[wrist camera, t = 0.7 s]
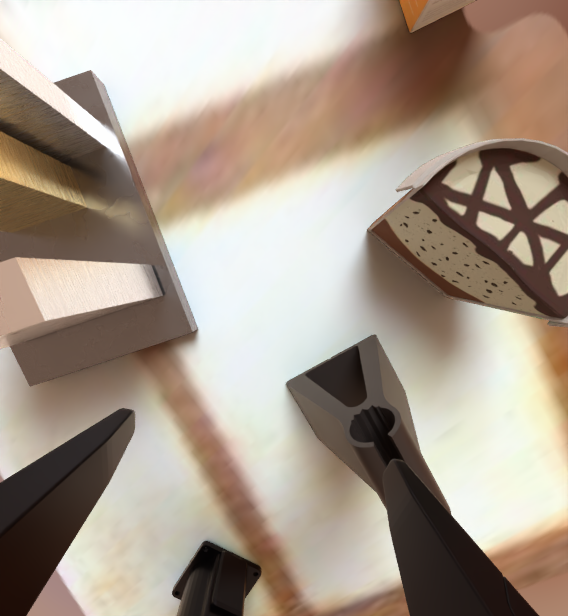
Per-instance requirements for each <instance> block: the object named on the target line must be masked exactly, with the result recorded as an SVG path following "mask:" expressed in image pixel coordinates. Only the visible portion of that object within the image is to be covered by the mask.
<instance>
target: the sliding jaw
mask: <svg viewBox="0 0 568 616" xmlns="http://www.w3.org/2000/svg"><path fill="white" fill-rule="evenodd" d="M160 296H163V294H162V291H161V289H160V286H159V284H158V281H157V279H156V276H155V274H154V271H153V269H152V266H151V265H146V264H128V263H110V262H92V261H74V260H55V259H37V258H19V257H15V258H12V259H9V260H6V261H3V262H0V349H3V348H6V347H10V346H13V345H17V344H20V343H23V342H26V341H29V340H32V339H35V338H38V337H41V336H44V335H47V334H50V333H53V332H56V331H59V330H62V329H65V328H68V327H71V326H74V325H77V324H80V323H83V322H86V321H89V320H92V319H95V318H98V317H101V316H104V315H107V314H110V313H113V312H116V311H119V310H122V309H125V308H128V307H131V306H134V305H137V304H139V303H142V302H145V301H148V300H151V299H154V298H157V297H160Z"/></svg>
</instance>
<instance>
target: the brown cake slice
mask: <svg viewBox="0 0 568 616" xmlns="http://www.w3.org/2000/svg"><path fill="white" fill-rule="evenodd" d="M411 188H413V189H412V190H410V191H409V192H408V193H407V194H406V195H405V196H403V197H402V198H401V199H400V200H399V201H398V202H397V203H395V204H394V205H393V206H392V207H391V208H390V209H388V210H387V211H386V212H385V213H384V214H383V215H382V216H380V217H379V218H378V219H377V220H376V221H375V222H374V223H373V224H372V225H371V226H370V227H369V228H368V229H367V230H368V231H369V232H370V233H371V234H373V235H374V236H375V237H376V238H377V239H378V240H380V241H381V242H382V243H383V244H384V245H386V246H387V247H388V248H389V249H390V250H391V251H393V252H394V253H395V254H396V255H397V256H399V257H400V258H401V259H402V260H403V261H404V262H406V263H407V264H408V265H409V266H410V267H412V268H413V269H414V270H415V271H416V272H417V273H419V274H420V275H421V276H422V277H423V278H425V279H426V280H427V281H428V282H429V283H430V284H432V285H433V286H434V287H435V288H436V289H437V290H439V291H440V292H441V293H442V294H443V295H445V296H446V297H447V298H451V299H456V300H460V301H465V302H469V303H473V304H478V305H482V306H487V307H491V308H496V309H500V310H505V311H509V312H514V313H518V314H522V315H527V316H531V317H536V318H540V319H545V320H549V322H548V323H547V324H548V325H549V326H559V327H568V152H566V151H564V150H562V149H560V148H559V147H557V146H554V145H551V144H548V143H545V142H542V141H537V140H530V139H523V138H518V139H492V140H487V141H482V142H477V143H473V144H470V145H467V146H464V147H461V148H458V149H455V150H453V151H450V152H448V153H445V154H442V155H440V156H437V157H436V158H434V159H432V160H431V161H429V162H427V163H425V164H424V165H422V166H421V167H419V168H418V169H417V170H416V171H414V172H413V173H412V174H411V175H410V176H408V177H407V178H406V179H405V180H404V181H403V182H402V184H401V185H400V186H399V187H398V188H397V189H396V191H397V192H399V191H403V190H407V189H411Z"/></svg>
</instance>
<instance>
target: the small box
mask: <svg viewBox="0 0 568 616" xmlns="http://www.w3.org/2000/svg"><path fill="white" fill-rule="evenodd" d="M474 1H476V0H399V2H400V4H401V7H402V10H403V13H404V16H405V19H406V22H407V26H408V29H409V32H410V33H412V32H414V31H416V30H418V29H420V28H422V27H424V26H426V25H428V24H430V23H432V22H434V21H436V20H438V19H440V18H442V17H444V16H446V15H448V14H450V13H452V12H455V11H457V10H459V9H461V8H463V7H465V6H467V5H469V4H470V3H472V2H474Z"/></svg>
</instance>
